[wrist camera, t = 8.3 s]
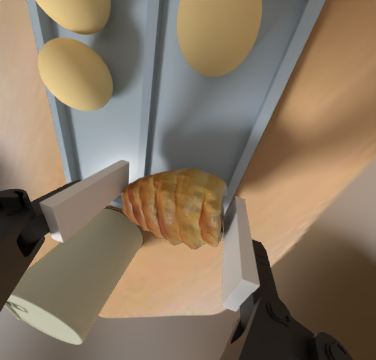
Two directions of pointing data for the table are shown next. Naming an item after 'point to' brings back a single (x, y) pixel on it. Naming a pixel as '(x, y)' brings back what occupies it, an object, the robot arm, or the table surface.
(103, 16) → the ball
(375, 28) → the table surface
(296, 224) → the table surface
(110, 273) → the can
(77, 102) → the ball
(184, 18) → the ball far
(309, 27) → the sorting tray
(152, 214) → the pastry
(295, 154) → the table surface
